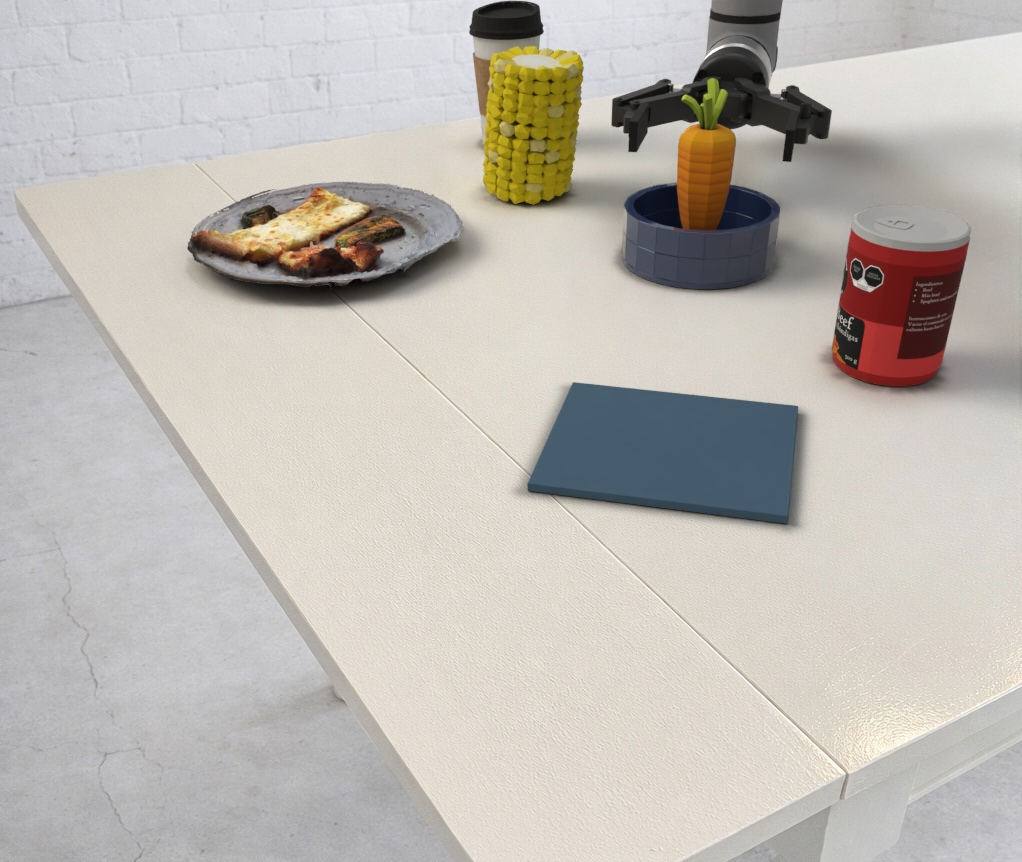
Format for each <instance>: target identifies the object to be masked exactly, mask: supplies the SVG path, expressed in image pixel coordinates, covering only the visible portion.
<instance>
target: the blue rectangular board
mask: <svg viewBox="0 0 1022 862" xmlns="http://www.w3.org/2000/svg"><path fill="white" fill-rule="evenodd" d="M798 414H799V406H798V405H794V404H785V403H776V402H775V403H774V402H764V401H757V400H748V399H747V400H746V399H738V398H737V399H736V398H726V397H717V396H709V395H708V396H707V395H699V394H688V393H679V392H672V391H671V392H669V391H661V390H650V389H642V388H631V387H624V386H623V387H621V386H615V385H613V386H612V385H605V384H594V383H585V382H576V381H573V382H572V383H571V385H570V387H569V390H568V392H567V394H566V397H565V399H564V400H563V403H562V406H561V408H560V409H559V412H558V415H557V417H556V419H555V421H554V423H553V425H552V427H551V430H550V433H549V435H548V437H547V439H546V441H545V444H544V446H543V447H542V450H541V452H540V455H539V457H538V459H537V461H536V464H535V466H534V468H533V471H532V472H531V475H530V477H529V480H528V481H527V491H528V492H536V493H542V494H549V495H557V496H566V497H575V498H580V499H581V498H582V499H590V500H596V501H597V500H598V501H606V502H613V503H621V504H629V505H638V506H645V507H650V508H651V507H652V508H660V509H668V510H676V511H684V512H691V513H700V514H707V515H714V516H715V515H716V516H723V517H729V518H730V517H732V518H738V519H746V520H753V521H754V520H755V521H762V522H769V523H776V524H777V523H779V524H786V525H787V524H788V523H789V515H790V504H791V495H792V494H791V491H792V481H793V470H794V461H795V460H794V459H795V448H796V447H795V446H796V435H797V427H798Z"/></svg>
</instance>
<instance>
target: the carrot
mask: <svg viewBox="0 0 1022 862" xmlns="http://www.w3.org/2000/svg"><path fill="white" fill-rule="evenodd" d="M707 85H708V94H705V95H703V103H702V104H701V105H700V106H699V104H698V103H697V101H696V100H695V99H694V98H692V97H691V96H688V95H684V96H683V97H682V101H683V102H684V103H686V104H687V105H689V106H690V107H691V109H692V110H693V111H694V113H695V114H696V116H697V118H698V123H697V124H692V125H689V126H688V127H687V128H686V129H685V130H684V131H683V132H682V133H681V134H680V136H679V139H678V145H677V165H676V173H677V174H676V182H677V193H678V204H679V211H680V218H681V223H682V226H683V229H691V230H704V231H705V230H716V229H717V227H718V224H719V222H720V220H721V217H722V214H723V210H724V207H725V204H726V200H727V196H728V192H729V189H730V185H731V182H732V176H733V169H734V163H735V155H736V145H737V138H736V133H734V131H733V129H728V128H726V127H724V126H722V125H720V124H717V119H718V117H719V115H720V113H721V111H722V109H723V106H724V104H725V102H726V99H727V96H728V93H727V92H726V90H724V89H721V91H720V93H719V82H718V80H717V79H713V78H712V79H709V80H707Z"/></svg>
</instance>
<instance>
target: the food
mask: <svg viewBox="0 0 1022 862" xmlns="http://www.w3.org/2000/svg"><path fill="white" fill-rule="evenodd" d="M584 68H585V67H584V61H583V59H582V57H581V55H580V54H579V53H578V52H577V51H575V50H569V51H567V50H563V49H556V50H554V49H552V48H548V47H545V48H541V49H539V50H538V48H537V47H536V46H529V47H525V48H524V49H523V50H522V49H520V48H519V47H518V46H516V47H513V48H511V49H509V50H508V52H507V51H503V52H502V53H494V54H493V55H492V56H491V62H490V67H489V71H490V80H489V82H488V86H489V88H490V89H489V91H488V96H487V100H488V102H487V105H486V106H487V108H486V110H487V114H486V120H487V123H486V124H485V134H486V138H485V141H484V144H483V155H484V160H483V163H482V166H483V169H482V170H483V173H484V175H483V176H482V182H483V184H484V186H485V188H486V191H487V193H488V194H489V195H491V196H492V195H496V197H497V198H498V199H499V200H500V201H502V202H508V201H511V202H512V203H513V205H517V204H520V203H523V202H525V203H527V204H530V205H533V206H534V205H536V204H539V203H540V201H541V200H544V201H547V202H549V201H551V200H552V199H554V198H555V196H556V197H561V196H563V194H564V193H567V192H570V190H571V186H572V175H573V171H574V169H573V168H574V162H575V161H576V157H575V155H576V151H577V148H576V146H577V144H578V143H577V142H578V140H577V137H578V133H579V131H578V127H580V122H579V119H580V113H579V111H580V109H581V106H582V105H583V103H582V92H583V91H582V83H583V81H584V75H583V72H584ZM484 145H485V146H484Z"/></svg>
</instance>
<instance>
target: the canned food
mask: <svg viewBox="0 0 1022 862" xmlns="http://www.w3.org/2000/svg"><path fill="white" fill-rule="evenodd" d="M971 233H972V232H971V226H970V224H969V223H968V222H966V221H965V220H964V219H963V218H961V217H959V216H957V215H955V214H952V213H949V212H947V211H943V210H941V209H936V208H931V207H926V206H919V205H909V204H885V205H877V206H870V207H867V208H864V209H861V210H860V211H858V212H856V213H855V215H854V216H853V220H852V223H851V226H850V233H849V238H848V243H847V250H846V256H845V262H844V267H843V268H844V269H843V275H842V282H841V286H840V287H841V288H840V293H839V301H838V306H837V314H836V320H835V327H834V331H833V339H832V344H831V352H832V358H833V361H834V364H835V366H836V367H837V368H838V369H839V370H841V371H842V372H843V373H844V374H846V375H848V376H849V377H851V378H853V379H856V380H858V381H862V382H865V383H869V384H873V385H878V386H883V387H884V386H885V387H911V386H917V385H920V384H924V383H926V382H929V381H930V380H932V379H933V378H934V377H935V375H936V374H937V372H938V371H939V369H940V367H941V366H942V363H943V361H944V355H945V351H946V347H947V342H948V339H949V338H948V337H949V334H950V329H951V325H952V322H953V321H952V320H953V316H954V312H955V308H956V304H957V299H958V294H959V291H960V286H961V281H962V278H963V273H964V269H965V265H966V260H967V256H968V250H969V249H968V248H969V245H970V241H971Z"/></svg>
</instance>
